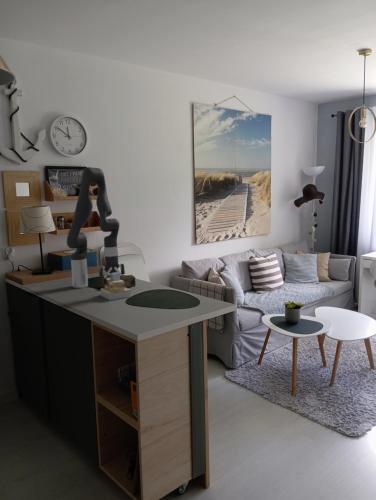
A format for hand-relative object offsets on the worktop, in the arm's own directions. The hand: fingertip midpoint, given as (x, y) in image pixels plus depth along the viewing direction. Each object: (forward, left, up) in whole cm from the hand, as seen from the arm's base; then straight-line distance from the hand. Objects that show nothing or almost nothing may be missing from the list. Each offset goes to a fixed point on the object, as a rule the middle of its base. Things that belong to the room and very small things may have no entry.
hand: (112, 283), depth 228 cm
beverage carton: (-17, +11, -7) cm, 22 cm away
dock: (+4, 0, -7) cm, 7 cm away
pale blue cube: (+4, 0, +2) cm, 4 cm away
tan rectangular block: (+2, 0, -3) cm, 4 cm away
